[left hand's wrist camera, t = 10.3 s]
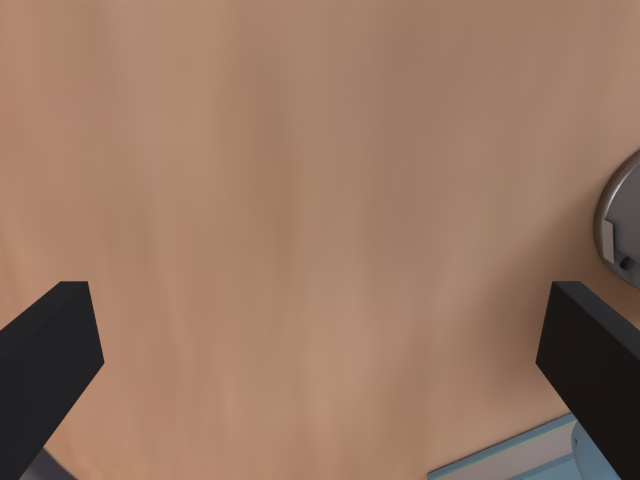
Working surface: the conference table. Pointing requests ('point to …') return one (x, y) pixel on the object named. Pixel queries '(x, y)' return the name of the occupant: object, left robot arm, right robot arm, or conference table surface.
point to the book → (521, 457)
